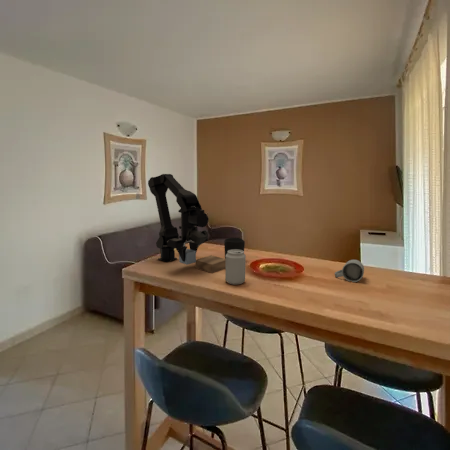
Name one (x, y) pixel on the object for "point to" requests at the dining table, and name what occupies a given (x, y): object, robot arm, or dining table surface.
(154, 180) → the robot arm
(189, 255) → the cube
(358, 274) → the ceramic mug
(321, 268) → the dining table surface
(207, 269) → the walnut block
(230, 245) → the pen holder
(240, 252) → the can
